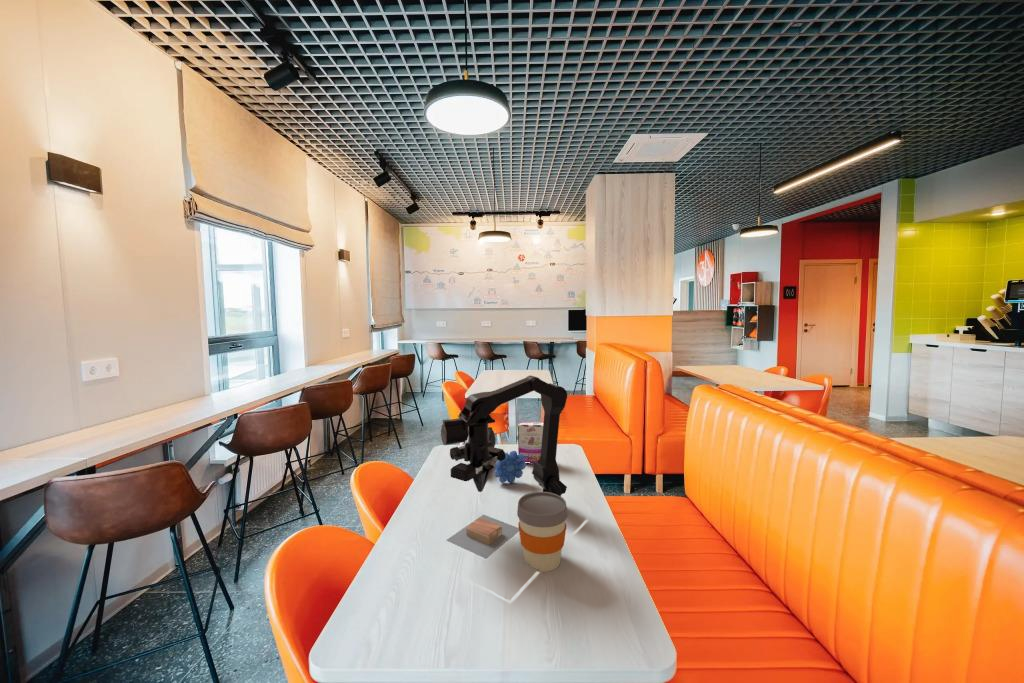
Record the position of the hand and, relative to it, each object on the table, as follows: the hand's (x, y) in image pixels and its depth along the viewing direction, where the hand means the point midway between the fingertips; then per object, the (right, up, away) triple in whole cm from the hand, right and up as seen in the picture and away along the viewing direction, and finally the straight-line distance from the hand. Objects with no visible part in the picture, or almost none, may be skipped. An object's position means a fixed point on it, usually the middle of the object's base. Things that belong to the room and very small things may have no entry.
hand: (480, 491), depth 114 cm
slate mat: (+2, -11, -4) cm, 12 cm away
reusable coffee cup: (+17, -12, -14) cm, 25 cm away
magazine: (-2, -7, +50) cm, 50 cm away
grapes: (+9, -8, +30) cm, 33 cm away
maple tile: (+3, -9, -2) cm, 10 cm away
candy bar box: (+18, -7, +48) cm, 52 cm away
